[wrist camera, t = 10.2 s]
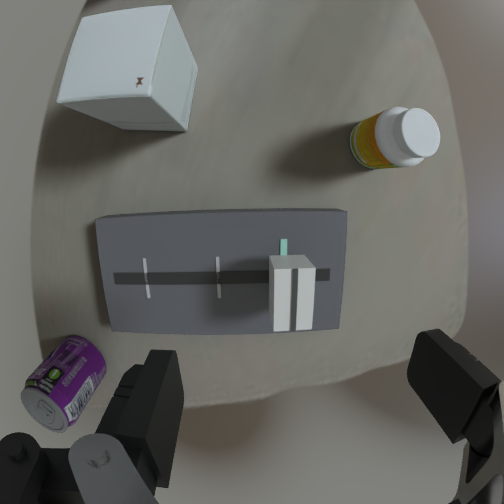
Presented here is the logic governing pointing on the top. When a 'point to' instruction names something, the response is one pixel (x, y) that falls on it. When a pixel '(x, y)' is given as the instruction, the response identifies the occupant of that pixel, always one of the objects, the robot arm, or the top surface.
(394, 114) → the supplement bottle
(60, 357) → the beverage can
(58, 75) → the top surface
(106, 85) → the supplement box
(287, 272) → the fader knob
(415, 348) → the robot arm
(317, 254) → the console
